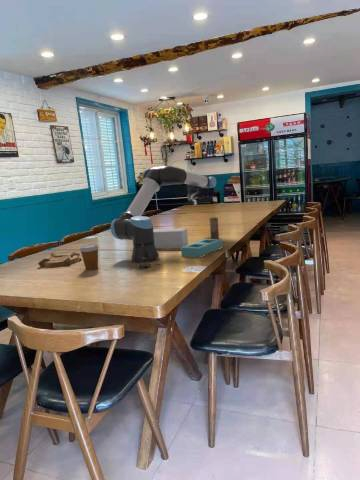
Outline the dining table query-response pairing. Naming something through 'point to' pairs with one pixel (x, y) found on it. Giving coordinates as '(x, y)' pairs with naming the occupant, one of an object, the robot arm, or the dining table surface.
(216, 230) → the walnut pin
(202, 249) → the bore block
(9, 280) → the dining table surface
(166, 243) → the stack of papers
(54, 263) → the brown flat irregular piece
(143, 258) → the eiffel tower figurine
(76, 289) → the dining table surface
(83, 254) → the disposable coffee cup
